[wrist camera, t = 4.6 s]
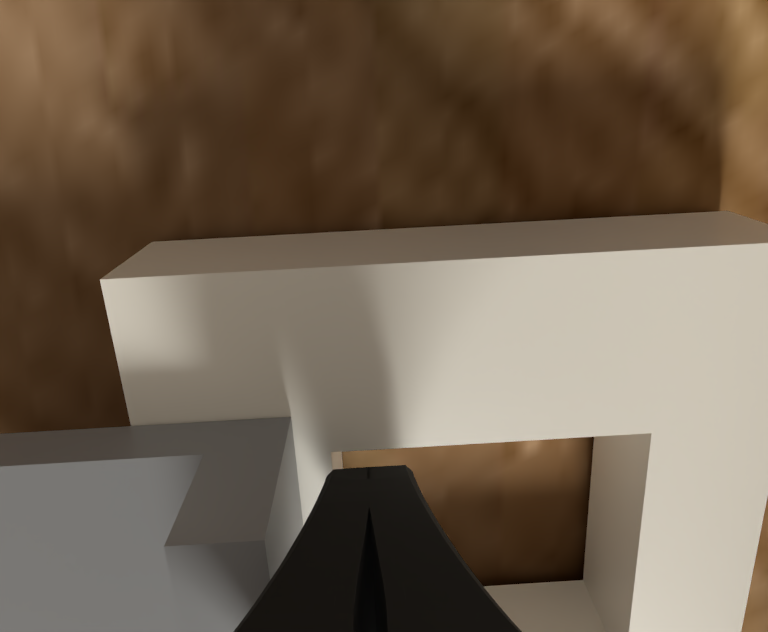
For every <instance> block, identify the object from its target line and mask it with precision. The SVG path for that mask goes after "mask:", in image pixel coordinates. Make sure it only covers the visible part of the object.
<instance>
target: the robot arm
mask: <svg viewBox="0 0 768 632" xmlns="http://www.w3.org/2000/svg"><path fill="white" fill-rule="evenodd" d="M234 632H522V631H521V630H520V629H519V628H518V627H517V626H516V625H515V624H514V622H513V621H512V620H511V619H510V618H509V617H508V616H507V614H506V613H505V612H504V611H503V610H502V609H501V607H500V606H499V605H498V604H497V603H496V601H495V600H494V599H493V598H492V597H491V595H490V594H489V593H488V592H487V590H486V589H485V588H484V586H483V585H482V584H481V583H480V581H479V580H478V579H477V578H476V576H475V575H474V574H473V572H472V571H471V570H470V568H469V567H468V566H467V564H466V563H465V561H464V560H463V559H462V557H461V556H460V555H459V553H458V552H457V550H456V549H455V547H454V546H453V544H452V543H451V541H450V540H449V538H448V537H447V535H446V534H445V532H444V531H443V529H442V528H441V526H440V525H439V523H438V521H437V520H436V518H435V516H434V515H433V513H432V511H431V509H430V508H429V506H428V504H427V502H426V501H425V499H424V497H423V495H422V493H421V491H420V489H419V487H418V485H417V482H416V480H415V478H414V475H413V472H412V471H411V470H410V469H409V468H408V467H407V466H406V465H400V466H383V467H366V468H349V469H333V470H332V471H331V472H330V473H329V474H328V475H327V477H326V479H325V482H324V485H323V487H322V489H321V492H320V494H319V496H318V498H317V500H316V503H315V505H314V507H313V509H312V511H311V512H310V514H309V516H308V518H307V520H306V522H305V524H304V526H303V527H302V529H301V531H300V533H299V534H298V536H297V538H296V539H295V541H294V543H293V545H292V546H291V548H290V550H289V552H288V553H287V555H286V557H285V558H284V560H283V561H282V563H281V565H280V566H279V568H278V569H277V571H276V572H275V574H274V575H273V577H272V578H271V580H270V581H269V583H268V584H267V586H266V587H265V588H264V590H263V591H262V593H261V594H260V596H259V597H258V599H257V600H256V602H255V603H254V605H253V606H252V607H251V609H250V610H249V612H248V613H247V614H246V616H245V617H244V618H243V620H242V621H241V622H240V624H239V625H238V626H237V628H236V629H235V630H234Z"/></svg>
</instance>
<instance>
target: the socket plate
mask: <svg viewBox="0 0 768 632" xmlns="http://www.w3.org/2000/svg"><path fill="white" fill-rule="evenodd" d="M100 283H101V288H102V292H103V297H104V302H105V307H106V311H107V316H108V321H109V325H110V330H111V335H112V340H113V344H114V349H115V354H116V358H117V363H118V368H119V373H120V377H121V382H122V387H123V391H124V396H125V401H126V406H127V410H128V415H129V420H130V424H131V426H142V425H159V424H177V423H194V422H211V421H228V420H245V419H262V418H279V417H291V420H292V429H293V438H294V447H295V456H296V465H297V474H298V483H299V492H300V501H301V510H302V519H303V526H304V524H305V522H306V520H307V518H308V516H309V514H310V512H311V511H312V509H313V507H314V505H315V503H316V500H317V498H318V496H319V494H320V492H321V489H322V487H323V485H324V482H325V479H326V477H327V475H328V474H329V473H330V472H331V471H332V470H333V469H343V461H342V452H344V451H360V450H377V449H394V448H411V447H428V446H445V445H461V444H478V443H495V442H512V441H529V440H546V439H562V438H579V437H594V445H593V457H592V470H591V483H590V496H589V509H588V521H587V534H586V547H585V560H584V572H583V580H575V581H559V582H544V583H528V584H512V585H496V586H484V588H485V589H486V590H487V592H488V593H489V594H490V595H491V597H492V598H493V599H494V600H495V601H496V603H497V604H498V605H499V606H500V607H501V609H502V610H503V611H504V612H505V613H506V614H507V616H508V617H509V618H510V619H511V620H512V621H513V622H514V624H515V625H516V626H517V627H518V628H519V629H520V630H521V631H522V632H741V630H742V625H743V620H744V615H745V609H746V604H747V599H748V594H749V589H750V584H751V579H752V573H753V568H754V563H755V558H756V553H757V548H758V543H759V538H760V532H761V527H762V522H763V517H764V512H765V507H766V502H767V496H768V224H766V223H763V222H760V221H757V220H754V219H751V218H748V217H745V216H742V215H739V214H736V213H733V212H730V211H715V212H696V213H678V214H659V215H640V216H622V217H603V218H585V219H566V220H548V221H529V222H510V223H492V224H473V225H455V226H436V227H418V228H399V229H380V230H362V231H343V232H325V233H306V234H287V235H269V236H250V237H232V238H213V239H195V240H176V241H157V242H151V243H150V244H148V245H147V246H145V247H144V248H143V249H141V250H140V251H139V252H137V253H136V254H134V255H133V256H132V257H130V258H129V259H127V260H126V261H125V262H123V263H122V264H121V265H119V266H118V267H116V268H115V269H114V270H112V271H111V272H109V273H108V274H107V275H105V276H104V277H103V278H101V279H100Z"/></svg>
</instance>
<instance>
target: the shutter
mask: <svg viewBox="0 0 768 632" xmlns="http://www.w3.org/2000/svg"><path fill="white" fill-rule="evenodd" d="M302 527H303V519H302V510H301V501H300V492H299V483H298V474H297V465H296V456H295V447H294V438H293V429H292V420H291V417H279V418H262V419H245V420H228V421H211V422H194V423H177V424H159V425H142V426H125V427H108V428H91V429H74V430H57V431H40V432H23V433H6V434H0V632H234V630H235V629H236V628H237V626H238V625H239V624H240V622H241V621H242V620H243V618H244V617H245V616H246V614H247V613H248V612H249V610H250V609H251V607H252V606H253V605H254V603H255V602H256V600H257V599H258V597H259V596H260V594H261V593H262V591H263V590H264V588H265V587H266V586H267V584H268V583H269V581H270V580H271V578H272V577H273V575H274V574H275V572H276V571H277V569H278V568H279V566H280V565H281V563H282V561H283V560H284V558H285V557H286V555H287V553H288V552H289V550H290V548H291V546H292V545H293V543H294V541H295V539H296V538H297V536H298V534H299V533H300V531H301V529H302Z"/></svg>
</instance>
